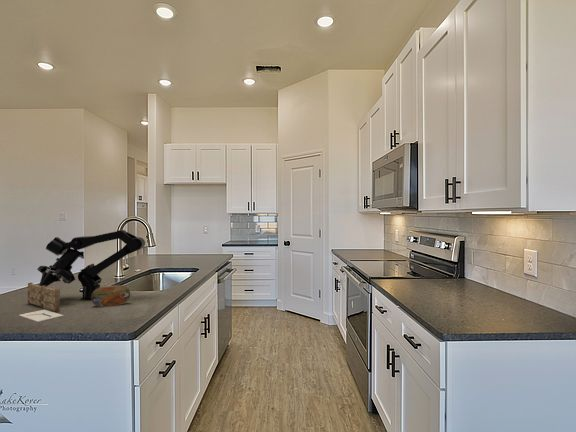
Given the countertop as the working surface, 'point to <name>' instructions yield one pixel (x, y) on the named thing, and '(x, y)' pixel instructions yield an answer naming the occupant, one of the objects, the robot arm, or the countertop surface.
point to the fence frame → (50, 298)
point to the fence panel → (34, 294)
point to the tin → (110, 296)
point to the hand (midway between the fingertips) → (39, 289)
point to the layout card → (40, 315)
